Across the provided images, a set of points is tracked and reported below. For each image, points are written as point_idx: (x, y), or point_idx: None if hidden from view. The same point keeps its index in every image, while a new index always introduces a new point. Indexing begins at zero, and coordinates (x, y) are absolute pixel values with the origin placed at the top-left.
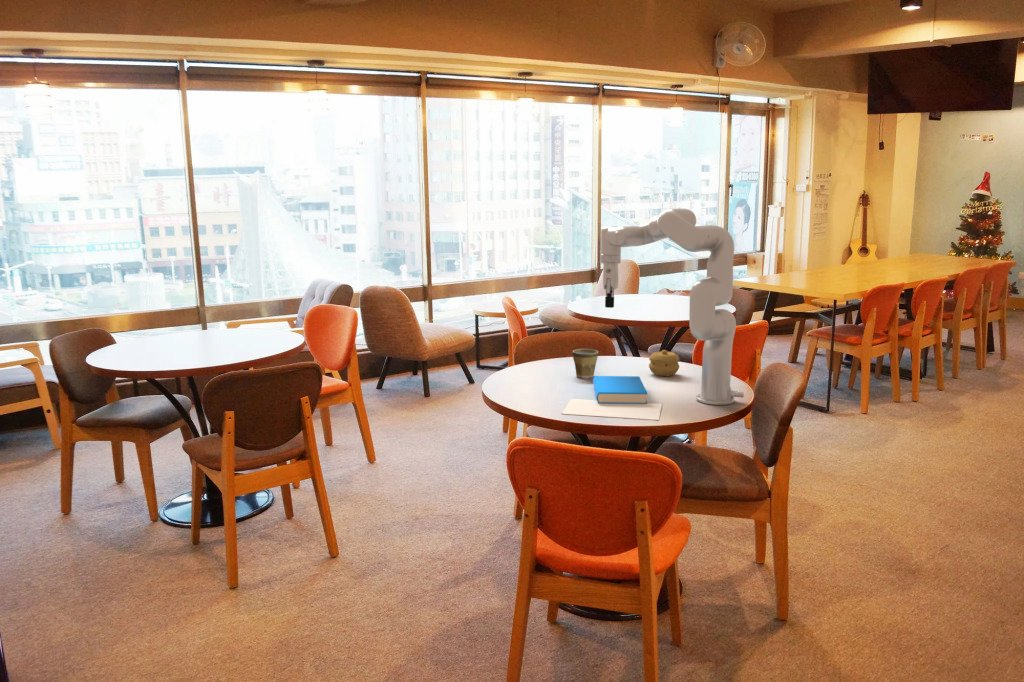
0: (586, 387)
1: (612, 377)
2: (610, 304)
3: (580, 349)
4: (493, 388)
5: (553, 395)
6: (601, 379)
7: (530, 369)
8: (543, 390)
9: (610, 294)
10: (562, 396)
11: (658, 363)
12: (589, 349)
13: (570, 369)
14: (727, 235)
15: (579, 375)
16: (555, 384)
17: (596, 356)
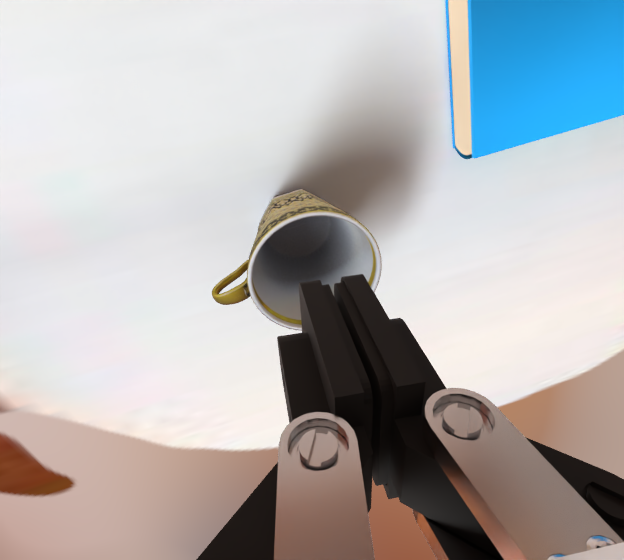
0: (470, 173)
1: (500, 66)
2: (404, 330)
3: (265, 310)
4: (497, 401)
5: (576, 246)
6: (540, 112)
7: (248, 409)
8: (516, 290)
9: (567, 467)
10: (590, 218)
11: None
12: (251, 272)
13: (191, 306)
14: None
15: (328, 240)
16: (438, 282)
17: (332, 207)
